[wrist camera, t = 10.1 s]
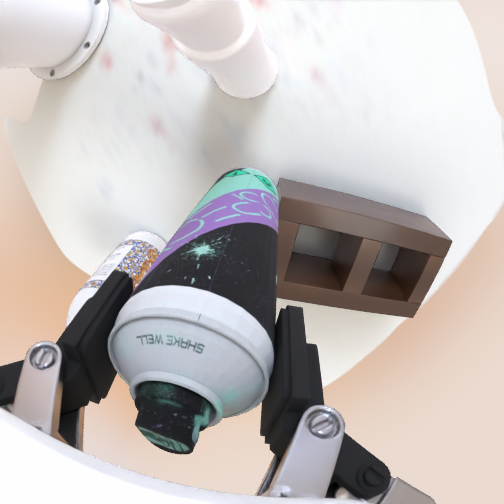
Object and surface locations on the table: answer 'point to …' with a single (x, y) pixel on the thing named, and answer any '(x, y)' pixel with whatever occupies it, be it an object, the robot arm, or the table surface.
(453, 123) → the table surface
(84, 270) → the table surface
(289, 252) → the rack
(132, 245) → the bath foam
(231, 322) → the spray can
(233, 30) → the cosmetic bottle
